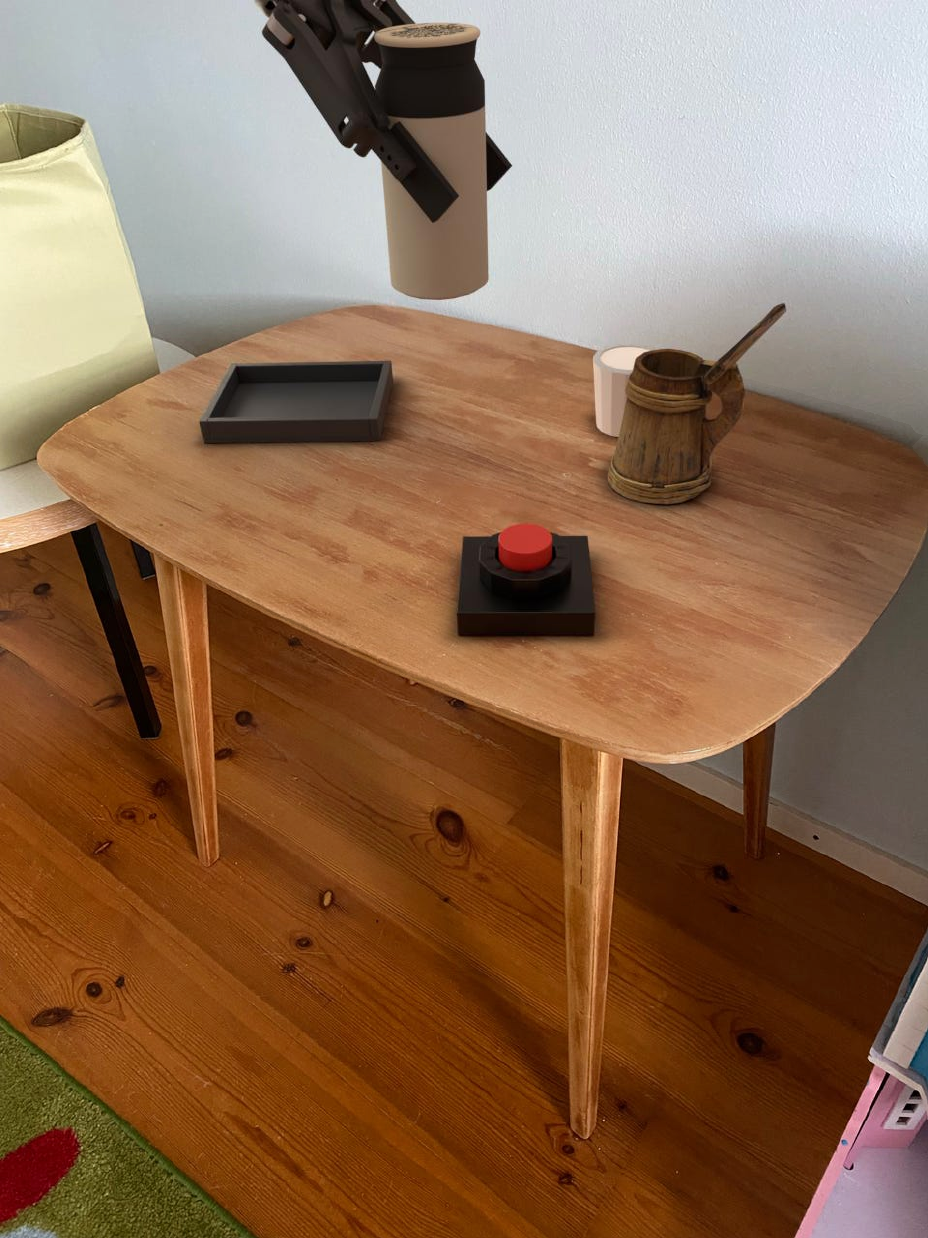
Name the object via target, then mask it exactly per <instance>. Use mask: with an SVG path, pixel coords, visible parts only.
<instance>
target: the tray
mask: <svg viewBox="0 0 928 1238" xmlns="http://www.w3.org/2000/svg"><path fill="white" fill-rule="evenodd" d="M393 375H394V374H393V365H392V360H363V361H362V360H353V361H351V360H350V361H349V360H348V361H345V360H344V361H298V362H295V361H293V362H288V361H287V362H243V363H241V362H240V363H237V362H236V363H230V364H229V366H228V368H227V370H226V372H225V373H224V375H223V377H222V378H221V381H220V382H219V384H218V386H217V388H216V390H215V391H214V393H213V395H212V397H211V399H210V400H209V402H208V404H207V407H206V408H205V409H204V411H203V414H202V416H201V417H200V419H199V421H198V423H199V427H200V432H201V436H202V439H203V441H202V442H203V443H204V444H245V443H246V444H248V443H249V444H250V443H251V444H252V443H253V444H254V443H255V444H256V443H320V442H321V443H324V442H325V443H327V442H328V443H329V442H335V443H337V442H380V440H381V437H382V431H383V427H384V423H385V419H386V414H387V410H388V405H389V401H390V397H391V392H392V387H393V383H394V376H393Z"/></svg>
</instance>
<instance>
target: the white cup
mask: <svg viewBox="0 0 928 1238" xmlns="http://www.w3.org/2000/svg"><path fill="white" fill-rule="evenodd" d="M652 350H657V349H656V348H653V347H650V346H647V345H641V344H635V343H634V344H633V343H629V344H628V343H627V344H615V345H609V346H605V347H604V348H602V349H599V350H597V351H596V352H595V354H594V355H593V356H592V364H593V365H592V367H593V384H594V385H593V387H594V402H595V403H594V407H595V423H596V428H597V429H598V430H599V431H600V432H601V433H603V434H605V435H608V436H610V437H616V438H618V437H619V433H620V428H621V424H622V419H623V415H624V410H625V405H626V400H627V396H626V393H625V388H626V385H627V382H628V380H629V377H630V374H631V373H632V372H633V368H634V364H635V360H636V358H637V357H638V356H639V355H641V354H642V353H644V352H648V351H652Z"/></svg>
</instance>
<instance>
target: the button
mask: <svg viewBox="0 0 928 1238" xmlns="http://www.w3.org/2000/svg"><path fill="white" fill-rule="evenodd" d="M500 532H501V533H500V535H499V560H500V562H501V563H502V565H504V566H505V567H508V568H511V569H514V570H517V571H535V570H538V569H541V568H543V567H546V566H547V565H548V564H549V563H550V561H551V559H552V535H551V533H550V532H551V531H549V530H548V529H547V528H546V527H544V526H541V525H539V524H534V523H516V524H512V525H510V526H507V527H506V528H504V529H502V531H500Z"/></svg>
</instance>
